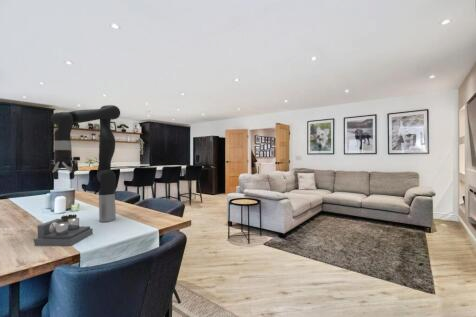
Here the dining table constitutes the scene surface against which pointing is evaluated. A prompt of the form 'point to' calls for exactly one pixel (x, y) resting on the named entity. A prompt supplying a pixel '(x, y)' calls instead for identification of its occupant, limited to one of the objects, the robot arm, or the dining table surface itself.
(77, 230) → the pan
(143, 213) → the dining table surface
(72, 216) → the cup
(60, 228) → the steel spacer
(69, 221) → the steel spacer
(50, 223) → the scale base
